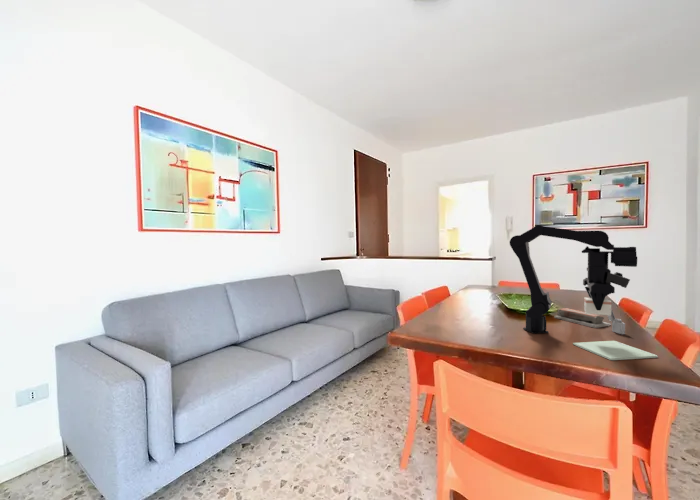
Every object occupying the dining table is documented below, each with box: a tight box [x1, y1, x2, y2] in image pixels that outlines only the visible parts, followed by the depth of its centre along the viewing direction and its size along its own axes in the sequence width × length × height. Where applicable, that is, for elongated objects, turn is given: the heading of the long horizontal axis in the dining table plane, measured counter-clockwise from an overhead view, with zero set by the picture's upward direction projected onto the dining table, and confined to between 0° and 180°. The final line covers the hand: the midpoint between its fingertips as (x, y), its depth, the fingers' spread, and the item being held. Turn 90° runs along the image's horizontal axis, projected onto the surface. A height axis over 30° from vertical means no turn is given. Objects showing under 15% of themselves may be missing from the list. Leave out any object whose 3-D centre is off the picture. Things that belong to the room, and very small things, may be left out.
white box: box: [583, 296, 613, 316], centre depth 111 cm, size 7×5×5 cm, turn 60°
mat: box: [572, 340, 659, 361], centre depth 101 cm, size 16×14×1 cm
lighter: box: [606, 309, 626, 335], centre depth 121 cm, size 7×2×8 cm, turn 1°
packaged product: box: [554, 307, 612, 329], centre depth 136 cm, size 18×5×10 cm
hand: (597, 308), depth 111 cm, fingers closed on white box, 4 cm apart
